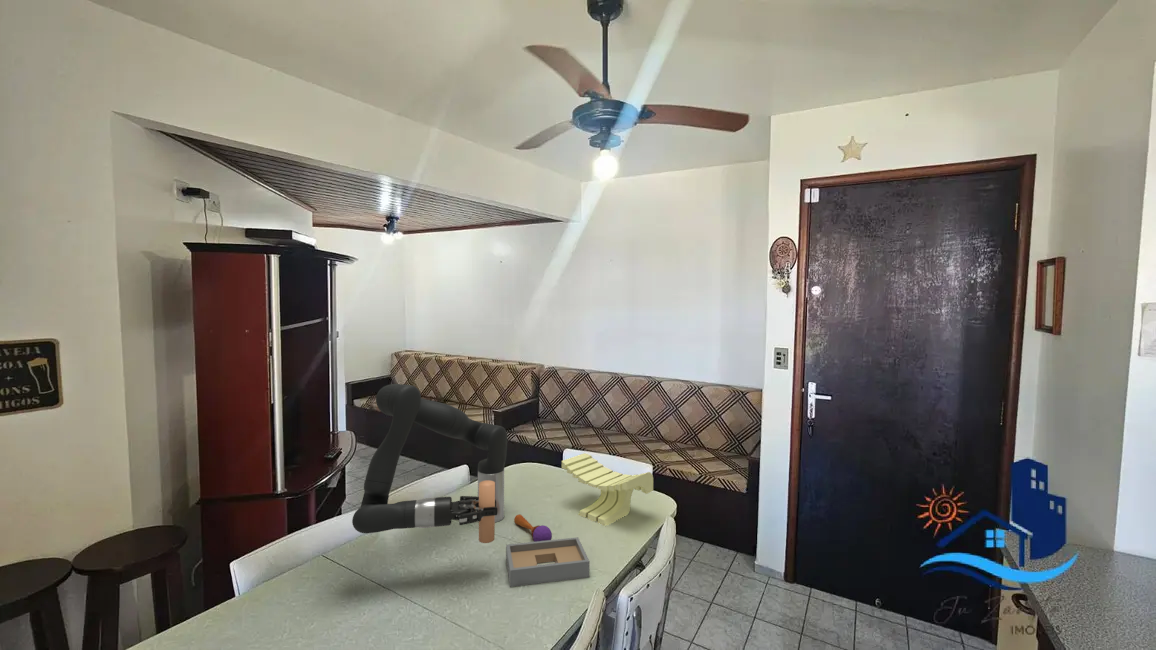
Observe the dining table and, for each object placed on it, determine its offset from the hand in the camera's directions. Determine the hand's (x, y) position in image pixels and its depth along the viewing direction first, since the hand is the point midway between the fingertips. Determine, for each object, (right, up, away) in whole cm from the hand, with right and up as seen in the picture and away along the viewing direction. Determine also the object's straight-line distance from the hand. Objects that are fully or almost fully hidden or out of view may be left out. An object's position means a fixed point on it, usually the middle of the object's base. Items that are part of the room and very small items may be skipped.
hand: (496, 506), depth 134 cm
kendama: (+8, -18, +23) cm, 30 cm away
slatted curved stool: (+33, -18, +40) cm, 55 cm away
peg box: (+14, -19, +3) cm, 24 cm away
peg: (-3, -9, 0) cm, 9 cm away
